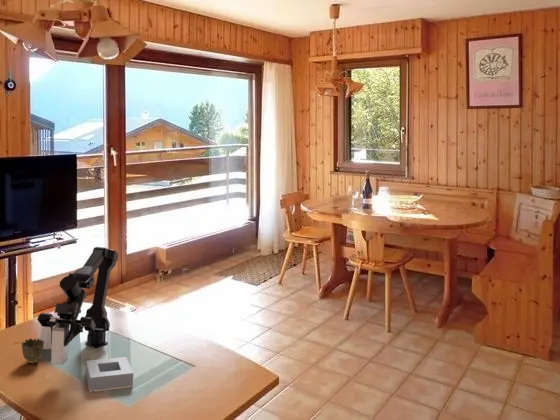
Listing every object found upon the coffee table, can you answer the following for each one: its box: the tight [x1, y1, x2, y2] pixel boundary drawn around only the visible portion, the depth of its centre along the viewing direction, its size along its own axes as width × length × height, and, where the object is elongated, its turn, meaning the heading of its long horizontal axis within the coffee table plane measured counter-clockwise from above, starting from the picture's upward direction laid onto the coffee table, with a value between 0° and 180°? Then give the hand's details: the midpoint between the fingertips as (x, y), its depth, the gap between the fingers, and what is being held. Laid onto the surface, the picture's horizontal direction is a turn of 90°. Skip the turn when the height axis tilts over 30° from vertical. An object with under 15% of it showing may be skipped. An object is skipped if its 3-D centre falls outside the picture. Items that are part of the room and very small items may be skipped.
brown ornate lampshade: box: [21, 338, 44, 365], centre depth 193 cm, size 8×7×8 cm
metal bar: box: [50, 323, 70, 366], centre depth 180 cm, size 4×4×13 cm
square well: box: [84, 356, 134, 393], centre depth 185 cm, size 14×14×5 cm
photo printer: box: [39, 324, 52, 351], centre depth 207 cm, size 10×4×12 cm, turn 103°
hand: (58, 345), depth 179 cm, fingers closed on metal bar, 4 cm apart
